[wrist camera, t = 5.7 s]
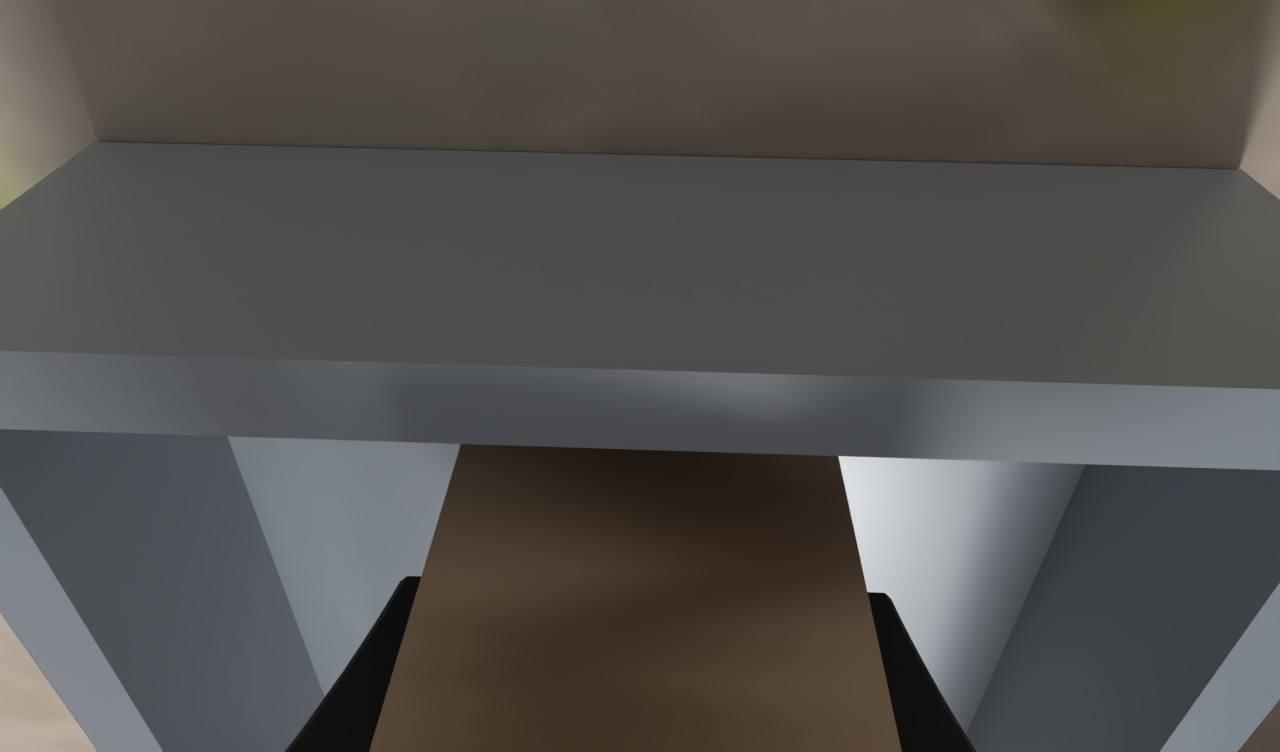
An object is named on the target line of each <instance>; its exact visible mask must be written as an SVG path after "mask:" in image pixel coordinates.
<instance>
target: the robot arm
mask: <svg viewBox="0 0 1280 752" xmlns="http://www.w3.org/2000/svg"><path fill="white" fill-rule="evenodd" d="M420 579H421V576H407V577H405V578H404V579H403V580H401V581H400V582H399V584H398V586H397V588H396V589H395V591H394V593H393V594H392V596H391V598H390V599H389V601H388V603H387V604H386V606H385V607H384V609H383V611H382V612H381V614H380V616H379V617H378V619H377V620H376V622H375V624H374V625H373V627H372V628H371V630H370V631H369V633H368V634H367V636H366V638H365V639H364V641H363V642H362V644H361V645H360V647H359V648H358V650H357V651H356V653H355V654H354V656H353V657H352V659H351V660H350V662H349V663H348V665H347V666H346V668H345V669H344V671H343V672H342V674H341V675H340V676H339V678H338V679H337V681H336V682H335V683H334V685H333V686H332V688H331V689H330V690H329V692H328V693H327V695H326V696H325V697H324V699H323V700H322V702H321V703H320V704H319V706H318V707H317V709H316V710H315V712H314V713H313V714H312V716H311V717H310V719H309V720H308V721H307V723H306V724H305V725H304V727H303V728H302V730H301V731H300V732H299V734H298V735H297V736H296V738H295V739H294V740H293V741H292V743H291V744H290V745H289V747H288V748H287V749H286V750H285V752H369V750H370V747H371V744H372V740H373V737H374V734H375V730H376V727H377V724H378V720H379V717H380V714H381V710H382V707H383V703H384V700H385V697H386V693H387V690H388V687H389V683H390V680H391V677H392V673H393V670H394V667H395V663H396V660H397V656H398V653H399V650H400V646H401V643H402V640H403V636H404V633H405V630H406V626H407V623H408V620H409V616H410V613H411V610H412V606H413V603H414V599H415V596H416V593H417V589H418V586H419V583H420ZM868 597H869V601H870V606H871V611H872V615H873V620H874V625H875V629H876V634H877V639H878V643H879V648H880V653H881V657H882V662H883V667H884V671H885V676H886V681H887V685H888V690H889V695H890V699H891V704H892V709H893V713H894V718H895V723H896V727H897V732H898V737H899V741H900V746H901V750H902V752H976V750H975V749H974V747H973V745H972V744H971V742H970V741H969V739H968V737H967V736H966V734H965V732H964V731H963V729H962V728H961V726H960V724H959V723H958V721H957V720H956V718H955V716H954V715H953V713H952V711H951V709H950V708H949V706H948V704H947V703H946V701H945V699H944V698H943V696H942V694H941V692H940V691H939V689H938V687H937V685H936V683H935V682H934V680H933V678H932V676H931V675H930V673H929V671H928V669H927V667H926V666H925V664H924V662H923V660H922V658H921V656H920V655H919V653H918V651H917V649H916V647H915V645H914V643H913V641H912V640H911V638H910V636H909V634H908V632H907V630H906V628H905V626H904V624H903V622H902V620H901V618H900V616H899V614H898V612H897V610H896V608H895V606H894V604H893V602H892V599H891V598H890V597H889V596H888V595H887V594H885V593H877V592H868Z"/></svg>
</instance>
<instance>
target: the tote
mask: <svg viewBox="0 0 1280 752" xmlns="http://www.w3.org/2000/svg"><path fill="white" fill-rule="evenodd" d="M461 444H479V445H510V446H541V447H572V448H603V449H634V450H665V451H696V452H727V453H758V454H788V455H819V456H838V457H839V462H840V466H841V471H842V476H843V480H844V485H845V490H846V494H847V499H848V504H849V508H850V513H851V518H852V522H853V527H854V532H855V536H856V541H857V546H858V550H859V555H860V559H861V564H862V569H863V573H864V578H865V583H866V587H867V592H877V593H885V594H887V595H888V596H889V597H890V598H891V599H892V602H893V604H894V606H895V608H896V610H897V612H898V614H899V616H900V618H901V620H902V622H903V624H904V626H905V628H906V630H907V632H908V634H909V636H910V638H911V640H912V641H913V643H914V645H915V647H916V649H917V651H918V653H919V655H920V656H921V658H922V660H923V662H924V664H925V666H926V667H927V669H928V671H929V673H930V675H931V676H932V678H933V680H934V682H935V683H936V685H937V687H938V689H939V691H940V692H941V694H942V696H943V698H944V699H945V701H946V703H947V704H948V706H949V708H950V709H951V711H952V713H953V715H954V716H955V718H956V720H957V721H958V723H959V724H960V726H961V728H962V729H963V731H964V732H965V734H966V736H967V737H968V739H969V741H970V742H971V744H972V745H973V747H974V749H975V750H976V752H1238V750H1239V749H1240V748H1241V747H1242V745H1243V744H1244V743H1245V742H1246V740H1247V739H1248V738H1249V737H1250V736H1251V734H1252V733H1253V732H1254V731H1255V729H1256V728H1257V727H1258V726H1259V724H1260V723H1261V722H1262V721H1263V720H1264V718H1265V717H1266V716H1267V715H1268V713H1269V712H1270V711H1271V710H1272V708H1273V707H1274V706H1275V705H1276V704H1277V702H1278V701H1279V700H1280V200H1279V199H1277V198H1276V197H1275V196H1274V195H1272V194H1271V193H1270V192H1269V191H1267V190H1266V189H1265V188H1264V187H1262V186H1261V185H1260V184H1259V183H1257V182H1256V181H1255V180H1254V179H1252V178H1251V177H1250V176H1249V175H1247V174H1246V173H1245V172H1244V171H1242V170H1238V169H1197V168H1156V167H1115V166H1074V165H1033V164H992V163H950V162H909V161H868V160H827V159H786V158H745V157H703V156H662V155H621V154H580V153H539V152H498V151H457V150H415V149H374V148H333V147H292V146H251V145H210V144H168V143H127V142H94V143H93V144H92V145H90V146H89V147H87V148H86V149H85V150H83V151H82V152H80V153H79V154H78V155H76V156H75V157H73V158H72V159H71V160H69V161H68V162H66V163H65V164H64V165H62V166H61V167H60V168H58V169H57V170H55V171H54V172H53V173H51V174H50V175H48V176H47V177H46V178H44V179H43V180H41V181H40V182H39V183H37V184H36V185H34V186H33V187H32V188H30V189H29V190H28V191H26V192H25V193H23V194H22V195H21V196H19V197H18V198H16V199H15V200H14V201H12V202H11V203H9V204H8V205H7V206H5V207H4V208H3V209H1V210H0V613H1V614H2V616H3V617H4V619H5V620H6V621H7V623H8V624H9V626H10V627H11V629H12V630H13V631H14V633H15V634H16V636H17V637H18V639H19V640H20V641H21V643H22V644H23V646H24V647H25V649H26V650H27V651H28V653H29V654H30V656H31V657H32V659H33V660H34V661H35V663H36V664H37V666H38V667H39V668H40V670H41V671H42V673H43V674H44V676H45V677H46V678H47V680H48V681H49V683H50V684H51V686H52V687H53V688H54V690H55V691H56V693H57V694H58V696H59V697H60V698H61V700H62V701H63V703H64V704H65V706H66V707H67V708H68V710H69V711H70V713H71V714H72V716H73V717H74V718H75V720H76V721H77V723H78V724H79V725H80V727H81V728H82V730H83V731H84V733H85V734H86V735H87V737H88V738H89V740H90V741H91V743H92V744H93V745H94V747H95V748H96V750H97V751H98V752H285V750H286V749H287V748H288V747H289V745H290V744H291V743H292V741H293V740H294V739H295V738H296V736H297V735H298V734H299V732H300V731H301V730H302V728H303V727H304V725H305V724H306V723H307V721H308V720H309V719H310V717H311V716H312V714H313V713H314V712H315V710H316V709H317V707H318V706H319V704H320V703H321V702H322V700H323V699H324V697H325V696H326V695H327V693H328V692H329V690H330V689H331V688H332V686H333V685H334V683H335V682H336V681H337V679H338V678H339V676H340V675H341V674H342V672H343V671H344V669H345V668H346V666H347V665H348V663H349V662H350V660H351V659H352V657H353V656H354V654H355V653H356V651H357V650H358V648H359V647H360V645H361V644H362V642H363V641H364V639H365V638H366V636H367V634H368V633H369V631H370V630H371V628H372V627H373V625H374V624H375V622H376V620H377V619H378V617H379V616H380V614H381V612H382V611H383V609H384V607H385V606H386V604H387V603H388V601H389V599H390V598H391V596H392V594H393V593H394V591H395V589H396V588H397V586H398V584H399V582H400V581H401V580H403V579H404V578H405V577H407V576H422V573H423V569H424V566H425V563H426V559H427V556H428V552H429V549H430V546H431V542H432V539H433V536H434V532H435V529H436V526H437V522H438V519H439V516H440V512H441V509H442V506H443V502H444V499H445V495H446V492H447V489H448V485H449V482H450V479H451V475H452V472H453V469H454V465H455V462H456V459H457V455H458V452H459V448H460V445H461Z"/></svg>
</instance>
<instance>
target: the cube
mask: <svg viewBox="0 0 1280 752" xmlns="http://www.w3.org/2000/svg"><path fill="white" fill-rule="evenodd" d="M369 752H902V750H901V746H900V741H899V737H898V732H897V727H896V723H895V718H894V713H893V709H892V704H891V699H890V695H889V690H888V685H887V681H886V676H885V671H884V667H883V662H882V657H881V653H880V648H879V643H878V639H877V634H876V629H875V625H874V620H873V615H872V611H871V606H870V601H869V597H868V592H867V587H866V583H865V578H864V573H863V569H862V564H861V559H860V555H859V550H858V546H857V541H856V536H855V532H854V527H853V522H852V518H851V513H850V508H849V504H848V499H847V494H846V490H845V485H844V480H843V476H842V471H841V466H840V462H839V457H838V456H819V455H788V454H758V453H727V452H696V451H665V450H634V449H603V448H572V447H541V446H510V445H479V444H461V445H460V448H459V452H458V455H457V459H456V462H455V465H454V469H453V472H452V475H451V479H450V482H449V485H448V489H447V492H446V495H445V499H444V502H443V506H442V509H441V512H440V516H439V519H438V522H437V526H436V529H435V532H434V536H433V539H432V542H431V546H430V549H429V552H428V556H427V559H426V563H425V566H424V569H423V573H422V576H421V579H420V583H419V586H418V589H417V593H416V596H415V599H414V603H413V606H412V610H411V613H410V616H409V620H408V623H407V626H406V630H405V633H404V636H403V640H402V643H401V646H400V650H399V653H398V656H397V660H396V663H395V667H394V670H393V673H392V677H391V680H390V683H389V687H388V690H387V693H386V697H385V700H384V703H383V707H382V710H381V714H380V717H379V720H378V724H377V727H376V730H375V734H374V737H373V740H372V744H371V747H370V750H369Z"/></svg>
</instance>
